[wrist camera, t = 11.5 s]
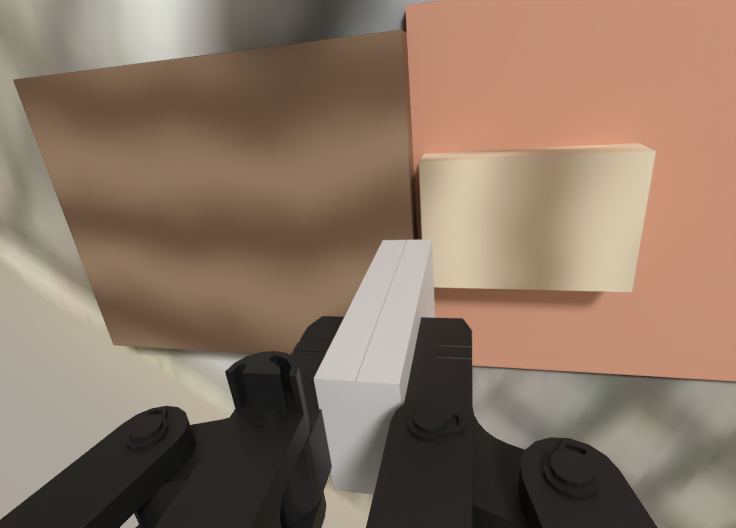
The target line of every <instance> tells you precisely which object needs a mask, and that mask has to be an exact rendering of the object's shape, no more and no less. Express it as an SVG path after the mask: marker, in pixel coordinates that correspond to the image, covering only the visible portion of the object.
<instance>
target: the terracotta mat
mask: <svg viewBox="0 0 736 528" xmlns="http://www.w3.org/2000/svg"><path fill="white" fill-rule="evenodd" d="M405 8H406V27H407V47H408V66H409V85H410V105H411V124H412V144H413V163H414V182H415V202H416V221H417V240H422V226H421V200H420V175H419V161H420V159H421V158H422V156H423V155H424V154H430V153H450V152H470V151H491V150H511V149H531V148H551V147H571V146H591V145H611V144H632V143H639V144H642V145H644V146H646V147H648V148H650V149H653V150H655V151H656V154H655V160H654V166H653V172H652V178H651V184H650V190H649V195H648V201H647V207H646V213H645V219H644V225H643V231H642V237H641V242H640V248H639V254H638V260H637V266H636V272H635V278H634V284H633V290H632V292H604V291H563V290H522V289H481V288H440V287H434V302H435V318H463V319H464V320H465V322H466V323H467V324H468V326H469V327H470V328H471V330H472V365H473V366H490V367H506V368H523V369H540V370H556V371H573V372H590V373H606V374H623V375H639V376H656V377H673V378H689V379H706V380H723V381H736V0H443V1H436V2H429V3H422V4H415V5H408V6H405Z"/></svg>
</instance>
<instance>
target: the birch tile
mask: <svg viewBox="0 0 736 528" xmlns="http://www.w3.org/2000/svg"><path fill="white" fill-rule="evenodd" d="M655 154H656V151H655V150H653V149H650V148H648V147H646V146H644V145H642V144H639V143H632V144H611V145H591V146H571V147H551V148H531V149H511V150H491V151H470V152H450V153H430V154H424V155H423V156H422V158H421V159H420V161H419V175H420V200H421V226H422V240H431V239H432V255H433V279H434V287H440V288H481V289H522V290H563V291H604V292H632V290H633V284H634V278H635V272H636V266H637V260H638V254H639V248H640V242H641V237H642V231H643V225H644V219H645V213H646V207H647V201H648V195H649V190H650V184H651V178H652V172H653V166H654V160H655Z"/></svg>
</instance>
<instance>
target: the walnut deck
mask: <svg viewBox="0 0 736 528" xmlns="http://www.w3.org/2000/svg"><path fill="white" fill-rule="evenodd" d="M13 81H14V83H15V86H16V89H17V91H18V94H19V97H20V99H21V102H22V105H23V107H24V110H25V112H26V115H27V118H28V120H29V123H30V126H31V128H32V131H33V134H34V136H35V139H36V142H37V144H38V147H39V149H40V152H41V155H42V157H43V160H44V163H45V165H46V168H47V171H48V173H49V176H50V178H51V181H52V184H53V186H54V189H55V192H56V194H57V197H58V200H59V202H60V205H61V208H62V210H63V213H64V215H65V218H66V221H67V223H68V226H69V229H70V231H71V234H72V237H73V239H74V242H75V244H76V247H77V250H78V252H79V255H80V258H81V260H82V263H83V266H84V268H85V271H86V274H87V276H88V279H89V281H90V284H91V287H92V289H93V292H94V295H95V297H96V300H97V303H98V305H99V308H100V311H101V313H102V316H103V318H104V321H105V324H106V326H107V329H108V332H109V334H110V337H111V340H112V342H113V345H119V346H135V347H152V348H168V349H185V350H201V351H217V352H234V353H250V354H256V353H259V352H267V351H279V352H284V353H288V354H289V355H290V354H291V353H293V350H294V348H295V346H296V345H297V343H298V342H300V338H301V337H302V335H303V334H304V332H305V330H306V329H307V327H308V326H309V325H311V324H312V323H313V322H315V321H316V320H317V319H319V318H320V317H322V316H338V317H345V315H346V313H347V311H348V309H349V307H350V305H351V303H352V301H353V299H354V297H355V295H356V293H357V291H358V289H359V287H360V285H361V283H362V281H363V279H364V277H365V275H366V273H367V271H368V269H369V267H370V265H371V263H372V261H373V259H374V257H375V255H376V253H377V251H378V249H379V247H380V245H381V243H382V241H383V240H417V221H416V202H415V182H414V163H413V144H412V124H411V105H410V85H409V66H408V47H407V33H406V32H405V31H403V30H395V31H388V32H380V33H372V34H364V35H357V36H349V37H341V38H333V39H326V40H318V41H310V42H302V43H295V44H287V45H279V46H271V47H263V48H256V49H248V50H240V51H232V52H225V53H217V54H209V55H201V56H194V57H186V58H178V59H170V60H162V61H155V62H147V63H139V64H131V65H124V66H116V67H108V68H100V69H93V70H85V71H77V72H69V73H61V74H54V75H46V76H38V77H30V78H23V79H15V80H13Z"/></svg>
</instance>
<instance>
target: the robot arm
mask: <svg viewBox="0 0 736 528" xmlns="http://www.w3.org/2000/svg"><path fill="white" fill-rule="evenodd" d="M225 373H226V377H227V380H228V384H229V387H230V391H231V394H232V398H233V401H234V405H235V408H236V409H235V410H234V412H233V413H232V415H231V416H230V418H226V419H222V420H217V421H211V422H205V423H200V424H193V425H190V424H189V421H188V418H187V415H186V413H185V412H184V411H183V410H181V409H180V408H178V407H171V406H164V407H157V408H152V409H149V410H147V411H144V412H142V413H140V414H137V415H135V416H134V417H132V418H131V419H130V420H128V421H126V422H125V423H123V424H122V425H120V426H119V427H118V428H117V429H115V430H114V431H113V432H112V433H111V434H109V435H108V436H107V437H105V438H104V439H103V440H101V441H100V442H99V443H98V444H96V445H95V446H94V447H92V448H91V449H90V450H89V451H88V452H86V453H85V454H84V455H82V456H81V457H80V458H79V459H77V460H76V461H75V462H73V463H72V464H71V465H70V466H68V467H67V468H66V469H64V470H63V471H62V472H61V473H59V474H58V475H57V476H55V477H54V478H53V479H52V480H50V481H49V482H48V483H47V484H45V485H44V486H43V487H42V488H40V489H39V490H38V491H36V492H35V493H34V494H33V495H31V496H30V497H29V498H27V499H26V500H25V501H24V502H22V503H21V504H20V505H19V506H17V507H16V508H15V509H13V510H12V511H11V512H10V513H8V514H7V515H6V516H4V517H3V518H2V519H1V520H0V528H120V526H122V524H123V523H124V522H126V521H127V520H128V518H130V517H131V516H132V515H133V514H135V516H136V518H137V521H138V523H139V525H138V526H137V527H136V528H321V527H322V524H323V521H324V518H325V511H326V501H325V496H324V488H325V485H326V482H327V479H328V477H329V474H330V471H331V475H332V480H333V486H334V489H335V490H343V491H351V492H359V493H367V494H374V495H373V500H372V504H371V508H370V513H369V517H368V521H367V526H366V528H657V526H656V525H655V523H654V521H653V520H652V518H651V517H650V515H649V514H648V512H647V511H646V509H645V508H644V506H643V505H642V503H641V502H640V500H639V499H638V497H637V496H636V494H635V493H634V491H633V490H632V488H631V487H630V485H629V484H628V482H627V481H626V479H625V478H624V476H623V475H622V473H621V472H620V470H619V469H618V468H617V467H616V466H615V465H614V464H613V463H612V461H611V460H610V459H609V458H608V457H607V456H606V455H604V454H603V453H601V452H600V451H598V450H596V449H595V448H593V447H592V446H590V445H588V444H585V443H582V442H579V441H576V440H573V439H570V438H553V437H551V438H547V439H543V440H539V441H536V442H534V443H533V444H532V445H531V446H529V447H528V448H527V449H526V450H524V449H521V448H518V447H516V446H513V445H510V444H507V443H505V442H503V441H501V440H499V439H496V438H495V437H493V436H492V435H491V434H489V433H488V432H486V431H485V430H484V429H483V428H482V426H481V425H480V424H479V423H478V421H477V420H476V418H475V416H474V412H473V407H472V330H471V328H470V327H469V326H468V324H467V323H466V322H465V320H464V319H463V318H435V302H434V279H433V255H432V239H431V240H383V241H382V243H381V245H380V247H379V249H378V251H377V253H376V255H375V257H374V259H373V261H372V263H371V265H370V267H369V269H368V271H367V273H366V275H365V277H364V279H363V281H362V283H361V285H360V287H359V289H358V291H357V293H356V295H355V297H354V299H353V301H352V303H351V305H350V307H349V309H348V311H347V313H346V315H345V317H338V316H322V317H320V318H319V319H317V320H316V321H315V322H313V323H312V324H311V325H309V326H308V327H307V329H306V330H305V332H304V334H303V335H302V337H301V338H300V342H298V343H297V345H296V346H295V348H294V350H293V353H291V354H290V355H289V354H288V353H284V352H279V351H267V352H259V353H256V354H253V355H249V356H247V357H245V358H243V359H241V360H239V361H237V362H235V363H234V364H233V365H232V366H231V367H230V368H229V369H227V370H226V371H225Z"/></svg>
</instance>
